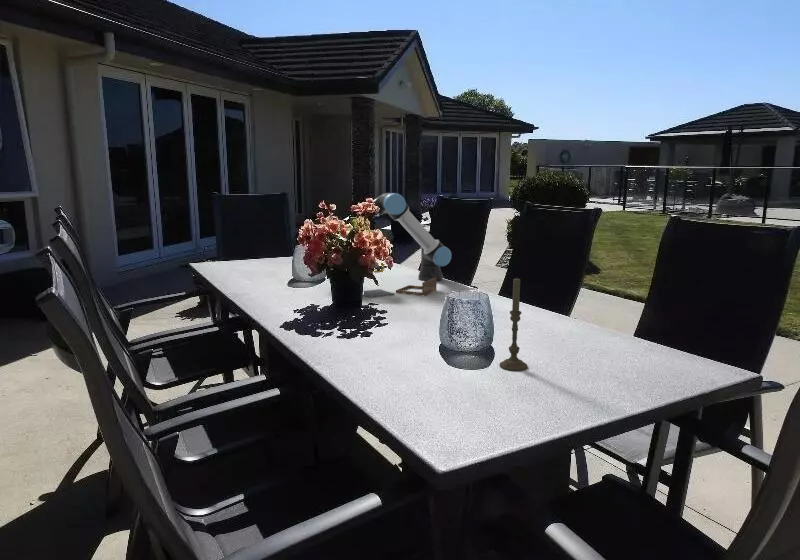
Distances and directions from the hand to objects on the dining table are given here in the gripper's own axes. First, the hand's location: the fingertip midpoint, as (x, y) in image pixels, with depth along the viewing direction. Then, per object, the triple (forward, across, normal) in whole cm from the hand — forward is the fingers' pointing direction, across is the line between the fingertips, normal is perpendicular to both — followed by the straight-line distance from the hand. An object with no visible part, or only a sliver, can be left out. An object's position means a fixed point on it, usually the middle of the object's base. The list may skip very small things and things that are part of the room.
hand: (383, 260), depth 295 cm
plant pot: (-4, 0, -7) cm, 8 cm away
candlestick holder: (+93, +84, -19) cm, 127 cm away
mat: (-5, +1, -19) cm, 19 cm away
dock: (+12, -15, -18) cm, 27 cm away
